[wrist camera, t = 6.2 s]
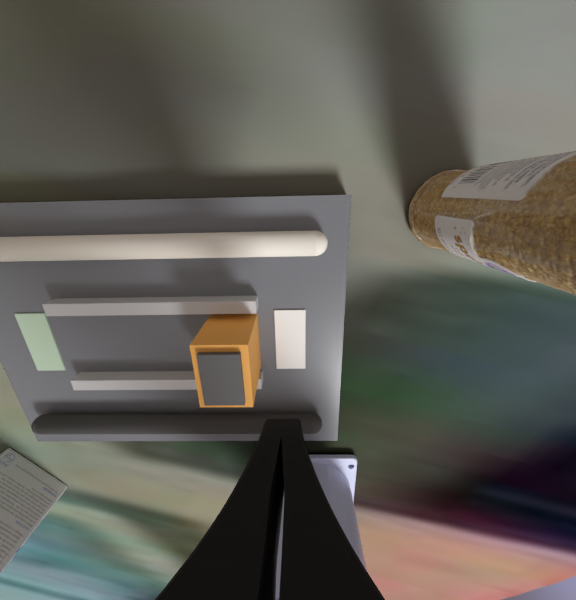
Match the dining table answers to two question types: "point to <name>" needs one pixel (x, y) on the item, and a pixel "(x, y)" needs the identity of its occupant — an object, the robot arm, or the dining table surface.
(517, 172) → the sprinkles bottle
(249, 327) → the block
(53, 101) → the dining table surface
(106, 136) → the dining table surface
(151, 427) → the dark grey rounded rod
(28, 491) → the light bulb box
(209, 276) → the panel
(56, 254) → the white rounded rod
